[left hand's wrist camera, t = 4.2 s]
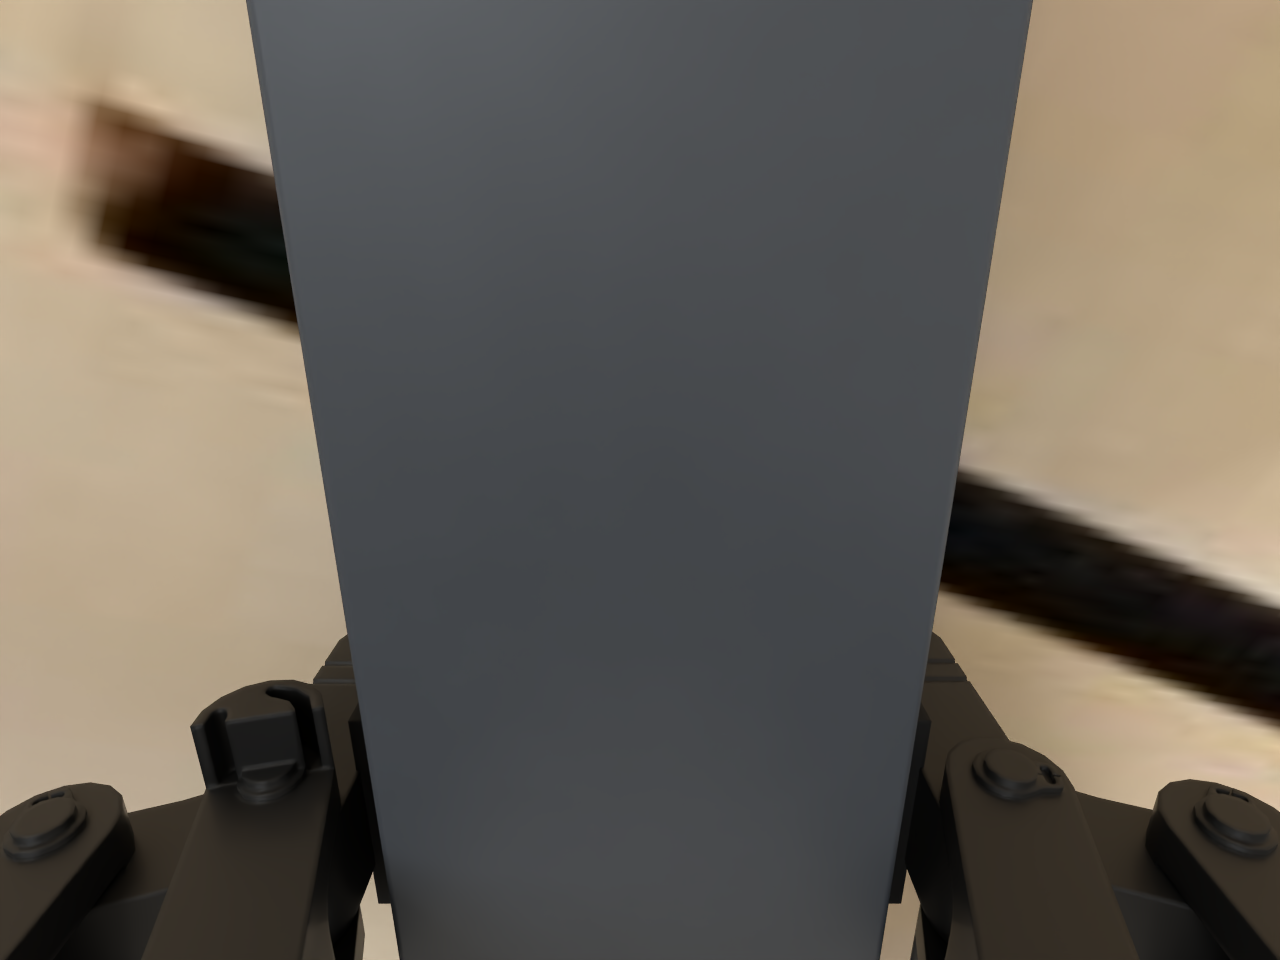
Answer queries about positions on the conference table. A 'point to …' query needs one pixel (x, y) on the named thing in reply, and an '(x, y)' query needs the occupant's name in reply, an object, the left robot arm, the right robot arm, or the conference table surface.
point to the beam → (639, 441)
